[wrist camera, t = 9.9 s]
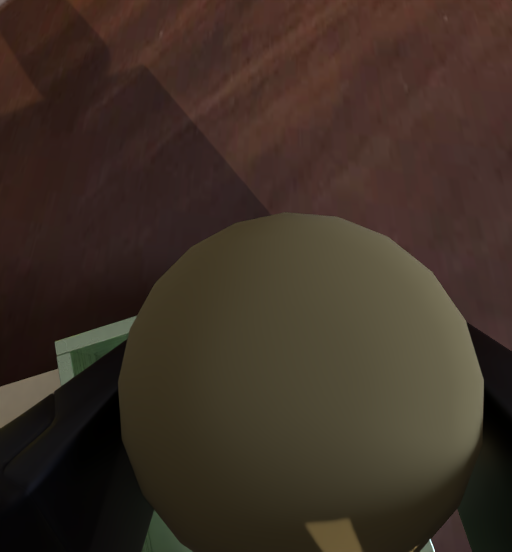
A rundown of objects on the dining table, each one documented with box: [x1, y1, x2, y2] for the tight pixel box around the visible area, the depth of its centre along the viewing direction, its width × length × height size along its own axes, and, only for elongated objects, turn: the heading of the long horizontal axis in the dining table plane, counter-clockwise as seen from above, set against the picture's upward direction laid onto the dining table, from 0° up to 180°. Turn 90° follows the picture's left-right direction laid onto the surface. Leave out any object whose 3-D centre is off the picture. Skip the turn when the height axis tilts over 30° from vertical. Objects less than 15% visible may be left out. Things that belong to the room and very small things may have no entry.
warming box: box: [55, 316, 435, 552], centre depth 19 cm, size 13×13×5 cm
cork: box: [118, 212, 484, 552], centre depth 10 cm, size 6×6×11 cm
